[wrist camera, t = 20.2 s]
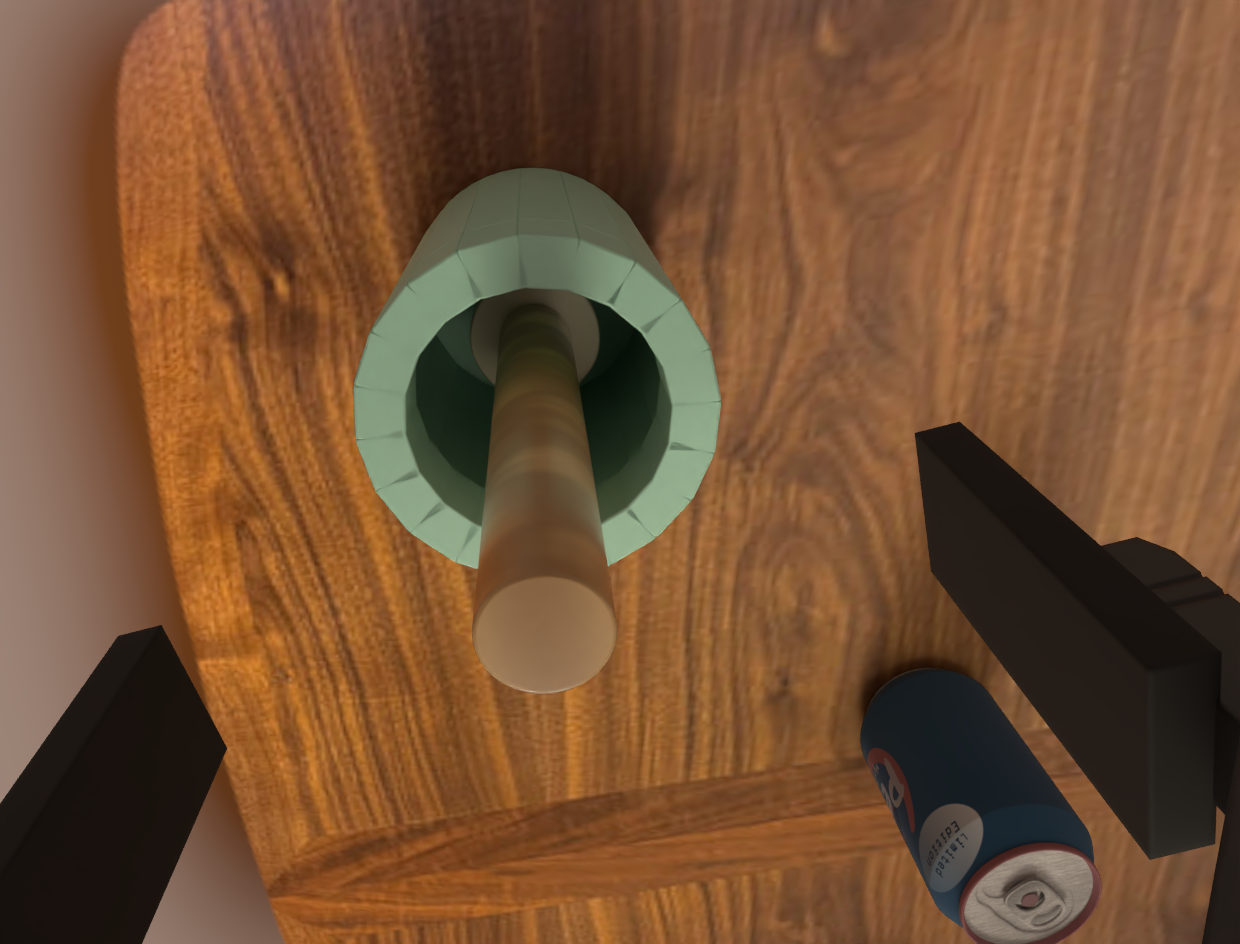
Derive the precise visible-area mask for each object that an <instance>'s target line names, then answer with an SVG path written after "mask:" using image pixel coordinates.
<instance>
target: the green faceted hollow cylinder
mask: <svg viewBox="0 0 1240 944" xmlns="http://www.w3.org/2000/svg"><path fill="white" fill-rule="evenodd" d="M522 288H534V289H552V290H568V291H571V292H573V293H576V294H579V295H581V296H584V297H587V298H589V299H592V300H593V303H594V307H595V310H596V314H597V318H598V322H599V327H600V348H599V352H598V356H597V358H596V361H595V363H594V365H593V367H592V369H591V370H590V372H589V373H588V375H587V376H586V377H585V378H584V379H583V380H582V381H581V382H580V383H579V388H580V395H581V401H582V407H583V413H584V420H585V426H586V432H587V438H588V445H589V451H590V457H591V464H592V470H593V476H594V482H595V489H596V495H597V501H598V507H599V514H600V520H601V526H602V533H603V539H604V545H605V551H606V558H607V564H608V566H609V565H610V563H611V564H613V563H615V562H617V561H618V560H620V559H622V558H624V557H625V556H627V555H629V554H630V553H632V552H634V551H636V550H637V549H639V548H641V547H642V546H644V545H646V544H647V543H649V542H651V541H653V540H654V539H655V537H658V536H659V535H660V534H661V533H662V532H663V531H664V530H665V528H666V527H667V526H668V525H669V524H670V523H671V522H672V521H673V520H674V519H675V518H676V517H677V516H678V514H679V513H680V512H681V511H682V510H683V509H684V508H685V507H686V506H687V505H688V504H689V503H690V501H691V499H693V498H694V496H695V493H696V491H697V489H698V487H699V485H700V483H701V481H702V479H703V477H704V475H705V472H706V470H707V468H708V466H709V464H710V462H711V460H712V458H713V456H714V452H715V448H716V440H717V432H718V424H719V416H720V408H721V400H720V399H721V396H720V391H719V386H718V381H717V376H716V372H715V367H714V362H713V357H712V353H711V349H710V347H709V344H708V342H707V340H706V339H705V337H704V335H703V334H702V332H701V330H700V329H699V327H698V325H697V324H696V322H695V320H694V319H693V317H692V315H691V314H690V312H689V310H688V309H687V307H686V305H685V304H684V302H683V300H682V299H681V297H680V295H679V294H678V292H677V291H676V289H675V288H674V286H673V284H672V283H671V281H670V280H669V278H668V277H667V275H666V273H665V272H664V270H663V269H662V267H661V266H660V264H659V262H658V261H657V259H656V258H655V256H654V255H653V253H652V251H651V250H650V248H649V247H648V245H647V244H646V242H645V240H644V239H643V237H642V236H641V234H640V233H639V231H638V229H637V228H636V226H635V225H634V223H633V222H632V220H631V218H630V217H629V215H628V214H627V213H626V211H625V210H623V209H622V208H621V207H620V206H619V205H618V204H617V203H616V202H615V201H614V200H613V199H612V198H611V197H610V196H609V195H607V194H606V193H605V192H603V191H602V190H600V189H599V188H598V187H596V186H595V185H593V184H591V183H589V182H587V181H585V180H584V179H582V178H579V177H577V176H574V175H571V174H568V173H566V172H561V171H557V170H552V169H545V168H517V169H512V170H507V171H502V172H499V173H496V174H493V175H490V176H487V177H485V178H483V179H481V180H479V181H477V182H475V183H473V184H471V185H470V186H468V187H467V188H465V189H464V190H463V191H461V192H460V193H458V194H457V195H456V196H455V197H454V198H453V199H451V200H450V201H449V202H448V203H447V204H446V206H445V207H444V208H443V209H442V211H441V212H440V213H439V214H438V216H437V217H436V219H435V220H434V222H433V223H432V224H431V226H430V227H429V228H428V230H427V231H426V233H425V234H424V236H423V238H422V240H421V242H420V243H419V245H418V247H417V249H416V250H415V252H414V254H413V256H412V258H411V259H410V261H409V263H408V265H407V266H406V268H405V270H404V272H403V273H402V275H401V277H400V279H399V281H398V282H397V284H396V286H395V288H394V289H393V291H392V293H391V295H390V296H389V298H388V300H387V302H386V304H385V305H384V307H383V309H382V311H381V313H380V314H379V316H378V318H377V320H376V321H375V323H374V325H373V327H372V329H371V331H370V333H369V335H368V339H367V342H366V345H365V348H364V351H363V354H362V357H361V361H360V364H359V367H358V370H357V373H356V376H355V379H354V387H353V394H354V421H355V437H356V443H357V446H358V448H359V451H360V453H361V456H362V459H363V461H364V464H365V466H366V469H367V471H368V474H369V477H370V479H371V482H372V484H373V487H374V489H375V490H376V493H377V494H378V495H379V496H380V497H381V499H382V500H383V501H384V502H385V503H386V505H387V506H388V507H389V508H390V510H391V511H392V512H393V513H394V514H395V516H396V517H397V518H398V519H399V520H400V522H401V523H402V524H403V525H404V527H405V528H406V529H407V530H408V531H409V532H410V533H411V534H413V535H414V536H416V537H417V538H419V539H420V540H422V541H423V542H425V543H426V544H428V545H430V546H431V547H433V548H434V549H436V550H437V551H439V552H440V553H442V554H443V555H445V556H446V557H448V558H449V559H451V560H452V561H455V562H456V563H460V564H463V565H466V566H470V567H473V568H476V569H478V562H479V552H480V541H481V530H482V520H483V509H484V499H485V488H486V477H487V467H488V456H489V445H490V435H491V424H492V413H493V403H494V392H495V385H493V384H492V383H491V382H490V381H489V380H488V379H487V378H486V377H485V376H484V374H483V373H482V372H481V370H480V369H479V367H478V365H477V364H476V362H475V359H474V356H473V354H472V350H471V344H470V327H471V321H472V316H473V311H474V307H475V303H476V302H477V301H479V300H481V299H484V298H488V297H492V296H496V295H500V294H503V293H507V292H511V291H515V290H519V289H522Z"/></svg>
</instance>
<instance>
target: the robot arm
mask: <svg viewBox="0 0 1240 944" xmlns="http://www.w3.org/2000/svg"><path fill="white" fill-rule="evenodd" d="M915 439H916V447H917V456H918V464H919V473H920V481H921V490H922V498H923V507H924V515H925V524H926V532H927V540H928V549H929V557H930V566H931V572H932V573H933V574H934V576H935V577H936V578H937V580H938V581H939V582H940V584H941V585H942V586H943V588H944V589H945V590H946V592H947V593H948V594H949V595H950V597H951V598H952V599H953V601H954V602H955V603H956V605H957V606H958V607H959V609H960V610H961V611H962V613H963V614H964V615H965V617H966V618H967V619H968V621H969V622H970V623H971V625H972V626H973V627H974V628H975V630H976V631H977V632H978V634H979V635H980V636H981V638H982V639H983V640H984V642H985V643H986V644H987V646H988V647H989V648H990V650H991V651H992V652H993V654H994V655H995V656H996V657H997V659H998V660H999V661H1000V663H1001V664H1002V665H1003V667H1004V668H1005V669H1006V671H1007V672H1008V673H1009V675H1010V676H1011V677H1012V679H1013V680H1014V681H1015V683H1016V684H1017V685H1018V687H1019V688H1020V689H1021V690H1022V692H1023V693H1024V694H1025V696H1026V697H1027V698H1028V700H1029V701H1030V702H1031V704H1032V705H1033V706H1034V708H1035V709H1036V710H1037V712H1038V713H1039V714H1040V716H1041V717H1042V718H1043V719H1044V721H1045V722H1046V723H1047V725H1048V726H1049V727H1050V729H1051V730H1052V731H1053V733H1054V734H1055V735H1056V737H1057V738H1058V739H1059V741H1060V742H1061V743H1062V745H1063V746H1064V747H1065V748H1066V750H1067V751H1068V752H1069V754H1070V755H1071V756H1072V758H1073V759H1074V760H1075V762H1076V763H1077V764H1078V766H1079V767H1080V768H1081V770H1082V771H1083V772H1084V774H1085V775H1086V776H1087V778H1088V779H1089V780H1090V781H1091V783H1092V784H1093V785H1094V787H1095V788H1096V789H1097V791H1098V792H1099V793H1100V795H1101V796H1102V797H1103V799H1104V800H1105V801H1106V803H1107V804H1108V805H1109V807H1110V808H1111V809H1112V810H1113V812H1114V813H1115V814H1116V816H1117V817H1118V818H1119V820H1120V821H1121V822H1122V824H1123V825H1124V826H1125V828H1126V829H1127V830H1128V832H1129V833H1130V834H1131V836H1132V837H1133V838H1134V840H1135V841H1136V842H1137V843H1138V845H1139V846H1140V847H1141V849H1142V850H1143V851H1144V853H1145V854H1146V855H1147V857H1148V858H1149V859H1150V860H1151V859H1155V858H1159V857H1163V856H1168V855H1172V854H1176V853H1180V852H1184V851H1188V850H1192V849H1196V848H1200V847H1205V846H1209V845H1213V844H1215V832H1216V805H1217V806H1218V808H1219V809H1220V810H1221V811H1222V812H1223V813H1224V814H1225V820H1224V825H1223V831H1222V836H1221V841H1220V847H1219V852H1218V858H1217V863H1216V869H1215V874H1214V880H1213V885H1212V891H1211V896H1210V902H1209V907H1208V913H1207V918H1206V924H1205V929H1204V935H1203V940H1202V944H1240V603H1239V602H1238V601H1237V600H1235V599H1234V598H1233V597H1232V596H1230V595H1229V594H1224V593H1223V589H1221V588H1220V587H1219V586H1218V585H1216V584H1215V583H1214V582H1212V581H1211V580H1210V579H1209V578H1207V577H1202V575H1201V572H1200V571H1199V570H1197V569H1196V568H1195V567H1193V566H1192V565H1191V564H1190V563H1188V562H1187V561H1186V560H1185V559H1183V558H1182V557H1181V556H1179V555H1178V554H1177V553H1176V552H1174V551H1172V550H1169V549H1167V548H1164V547H1161V546H1159V545H1156V544H1153V543H1151V542H1148V541H1146V540H1143V539H1140V538H1138V537H1135V538H1131V539H1127V540H1123V541H1119V542H1115V543H1111V544H1107V545H1103V546H1100V545H1099V544H1098V543H1097V542H1096V541H1095V540H1093V539H1092V538H1091V537H1090V536H1089V535H1088V534H1087V533H1086V532H1084V531H1083V530H1082V529H1081V528H1080V527H1079V526H1078V525H1076V524H1075V523H1074V522H1073V521H1072V520H1071V519H1070V518H1068V517H1067V516H1066V515H1065V514H1064V513H1063V512H1062V511H1061V510H1059V509H1058V508H1057V507H1056V506H1055V505H1054V504H1053V503H1051V502H1050V501H1049V500H1048V499H1047V498H1046V497H1045V496H1043V495H1042V494H1041V493H1040V492H1039V491H1038V490H1037V489H1036V488H1034V487H1033V486H1032V485H1031V484H1030V483H1029V482H1028V481H1026V480H1025V479H1024V478H1023V477H1022V476H1021V475H1020V474H1018V473H1017V472H1016V471H1015V470H1014V469H1013V468H1012V467H1011V466H1009V465H1008V464H1007V463H1006V462H1005V461H1004V460H1003V459H1001V458H1000V457H999V456H998V455H997V454H996V453H995V452H993V451H992V450H991V449H990V448H989V447H988V446H987V445H986V444H984V443H983V442H982V441H981V440H980V439H979V438H978V437H976V436H975V435H974V434H973V433H972V432H971V431H970V430H968V429H967V428H966V427H965V426H964V425H963V424H962V423H961V422H957V423H953V424H949V425H945V426H941V427H937V428H933V429H929V430H925V431H921V432H917V433H915ZM226 750H227V747H226V745H225V743H224V741H223V740H222V738H221V736H220V734H219V732H218V730H217V728H216V726H215V725H214V723H213V721H212V719H211V717H210V715H209V713H208V711H207V710H206V708H205V706H204V704H203V702H202V700H201V698H200V697H199V695H198V693H197V691H196V689H195V687H194V685H193V683H192V682H191V680H190V678H189V676H188V674H187V672H186V670H185V668H184V667H183V665H182V663H181V661H180V659H179V657H178V655H177V653H176V652H175V650H174V648H173V646H172V644H171V642H170V640H169V639H168V637H167V635H166V633H165V631H164V629H163V627H162V625H160V626H156V627H152V628H148V629H144V630H140V631H136V632H132V633H128V634H124V635H120V636H118V637H117V639H116V640H115V641H114V643H113V644H112V646H111V647H110V648H109V650H108V651H107V653H106V654H105V656H104V657H103V658H102V660H101V661H100V663H99V664H98V666H97V667H96V668H95V670H94V671H93V673H92V674H91V675H90V677H89V678H88V680H87V681H86V683H85V684H84V686H83V687H82V688H81V690H80V691H79V693H78V694H77V695H76V697H75V698H74V700H73V701H72V702H71V704H70V706H69V707H68V708H67V710H66V711H65V713H64V714H63V715H62V717H61V718H60V720H59V721H58V722H57V724H56V726H55V727H54V728H53V729H52V731H51V732H50V734H49V735H48V737H47V738H46V739H45V741H44V742H43V744H42V745H41V747H40V748H39V749H38V751H37V752H36V754H35V755H34V757H33V758H32V759H31V761H30V762H29V764H28V765H27V766H26V768H25V769H24V771H23V772H22V774H21V775H20V776H19V778H18V779H17V781H16V782H15V784H14V785H13V786H12V788H11V789H10V791H9V792H8V793H7V795H6V796H5V798H4V799H3V801H2V802H1V803H0V944H142V942H143V940H144V938H145V935H146V933H147V931H148V929H149V926H150V924H151V922H152V919H153V917H154V915H155V913H156V910H157V908H158V906H159V903H160V901H161V899H162V896H163V894H164V892H165V890H166V887H167V885H168V883H169V880H170V878H171V876H172V873H173V871H174V869H175V867H176V864H177V862H178V860H179V857H180V855H181V853H182V851H183V848H184V846H185V844H186V841H187V839H188V837H189V834H190V832H191V830H192V828H193V825H194V823H195V821H196V818H197V816H198V814H199V811H200V809H201V807H202V804H203V802H204V800H205V798H206V795H207V793H208V791H209V789H210V786H211V784H212V781H213V779H214V777H215V775H216V773H217V770H218V768H219V766H220V763H221V761H222V759H223V757H224V754H225V752H226Z"/></svg>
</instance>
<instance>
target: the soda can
mask: <svg viewBox="0 0 1240 944" xmlns="http://www.w3.org/2000/svg"><path fill="white" fill-rule="evenodd" d="M860 741H861V749H862V752H863V755H864V758H865V760H866V762H867V764H868V766H869V768H870V770H871V772H872V774H873V776H874V778H875V780H876V782H877V785H878V787H879V789H880V791H881V793H882V795H883V797H884V799H885V801H886V803H887V805H888V807H889V809H890V811H891V813H892V815H893V817H894V820H895V822H896V824H897V826H898V828H899V830H900V832H901V834H902V836H903V838H904V840H905V842H906V844H907V846H908V848H909V850H910V853H911V855H912V857H913V859H914V861H915V863H916V865H917V867H918V869H919V871H920V873H921V875H922V877H923V879H924V881H925V883H926V886H927V888H928V890H929V892H930V894H931V896H932V898H933V900H934V902H935V904H936V905H937V907H938V908H939V909H940V911H941V912H942V913H943V914H944V915H946V916H947V917H948V918H949V919H951V920H952V921H953V922H955V923H956V924H958V925H959V926H961V927H962V928H964V930H965V932H966V934H967V935H968V936H969V938H970V939H971V940H972V941H974V942H975V943H976V944H1057V943H1059V942H1060V941H1062V940H1064V939H1066V938H1067V937H1069V936H1070V935H1072V934H1073V933H1074V932H1076V931H1077V930H1078V929H1079V928H1080V927H1081V926H1082V925H1083V924H1084V923H1085V922H1086V921H1087V920H1088V919H1089V918H1090V916H1091V915H1092V913H1093V912H1094V910H1095V908H1096V906H1097V904H1098V902H1099V899H1100V895H1101V878H1100V875H1099V872H1098V870H1097V868H1096V866H1095V865H1094V855H1093V846H1092V841H1091V837H1090V834H1089V832H1088V830H1087V828H1086V827H1085V825H1084V824H1083V823H1082V821H1081V820H1080V818H1079V817H1078V816H1077V814H1076V813H1075V812H1074V810H1073V809H1072V807H1071V806H1070V805H1069V803H1068V802H1067V800H1066V799H1065V798H1064V796H1063V795H1062V794H1061V792H1060V791H1059V789H1058V788H1057V787H1056V785H1055V784H1054V782H1053V781H1052V780H1051V778H1050V777H1049V775H1048V774H1047V773H1046V771H1045V770H1044V769H1043V767H1042V766H1041V764H1040V763H1039V762H1038V760H1037V759H1036V757H1035V756H1034V755H1033V753H1032V752H1031V751H1030V749H1029V748H1028V746H1027V745H1026V744H1025V742H1024V741H1023V739H1022V738H1021V737H1020V735H1019V734H1018V732H1017V731H1016V730H1015V728H1014V727H1013V726H1012V724H1011V723H1010V721H1009V720H1008V719H1007V717H1006V716H1005V714H1004V713H1003V712H1002V710H1001V709H1000V708H999V706H998V705H997V703H996V702H995V701H994V699H993V698H992V696H991V695H990V694H989V692H988V691H987V690H986V689H985V688H984V687H983V686H982V685H981V684H980V683H978V682H977V681H975V680H974V679H972V678H970V677H968V676H966V675H963V674H960V673H957V672H953V671H949V670H944V669H938V668H919V669H914V670H910V671H907V672H904V673H902V674H900V675H898V676H896V677H894V678H892V679H891V680H889V681H888V682H887V683H885V684H884V685H883V686H882V687H881V688H880V689H879V690H878V691H877V692H876V694H875V695H874V696H873V698H872V700H871V701H870V703H869V706H868V708H867V711H866V714H865V717H864V720H863V723H862V728H861V737H860Z"/></svg>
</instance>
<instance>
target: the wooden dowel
mask: <svg viewBox="0 0 1240 944" xmlns="http://www.w3.org/2000/svg"><path fill="white" fill-rule="evenodd" d="M470 344H471V350H472V354H473V356H474V359H475V362H476V364H477V365H478V367H479V369H480V370H481V372H482V373H483V374H484V376H485V377H486V378H487V379H488V380H489V381H490V382H491V383H492V384H493V385H495V392H494V403H493V413H492V424H491V435H490V445H489V456H488V467H487V477H486V488H485V499H484V509H483V520H482V530H481V541H480V552H479V562H478V573H477V584H476V594H475V605H474V616H473V626H472V638H473V645H474V648H475V652H476V654H477V656H478V658H479V660H480V661H481V663H482V664H483V666H484V667H485V668H486V669H487V671H488V672H489V673H490V674H491V675H492V676H493V677H495V678H496V679H497V680H499V681H500V682H502V683H503V684H505V685H507V686H509V687H511V688H514V689H516V690H519V691H523V692H527V693H535V694H551V693H558V692H563V691H566V690H570V689H573V688H575V687H577V686H579V685H581V684H583V683H585V682H587V681H588V680H589V679H591V678H592V677H593V676H595V675H596V674H597V673H598V672H599V671H600V670H601V669H602V668H603V666H604V665H605V664H606V662H607V661H608V659H609V658H610V656H611V654H612V652H613V649H614V647H615V643H616V639H617V620H616V614H615V608H614V602H613V595H612V589H611V583H610V576H609V570H608V564H607V558H606V551H605V545H604V539H603V533H602V526H601V520H600V514H599V507H598V501H597V495H596V489H595V482H594V476H593V470H592V464H591V457H590V451H589V445H588V438H587V432H586V426H585V420H584V413H583V407H582V401H581V395H580V388H579V383H580V382H581V381H582V380H583V379H584V378H585V377H586V376H587V375H588V373H589V372H590V370H591V369H592V367H593V365H594V363H595V361H596V358H597V356H598V352H599V348H600V327H599V322H598V318H597V314H596V310H595V307H594V303H593V300H592V299H589V298H587V297H584V296H581V295H579V294H576V293H573V292H571V291H568V290H552V289H534V288H522V289H519V290H515V291H511V292H507V293H503V294H500V295H496V296H492V297H488V298H484V299H481V300H479V301H477V302H476V303H475V307H474V311H473V316H472V321H471V327H470Z"/></svg>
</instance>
